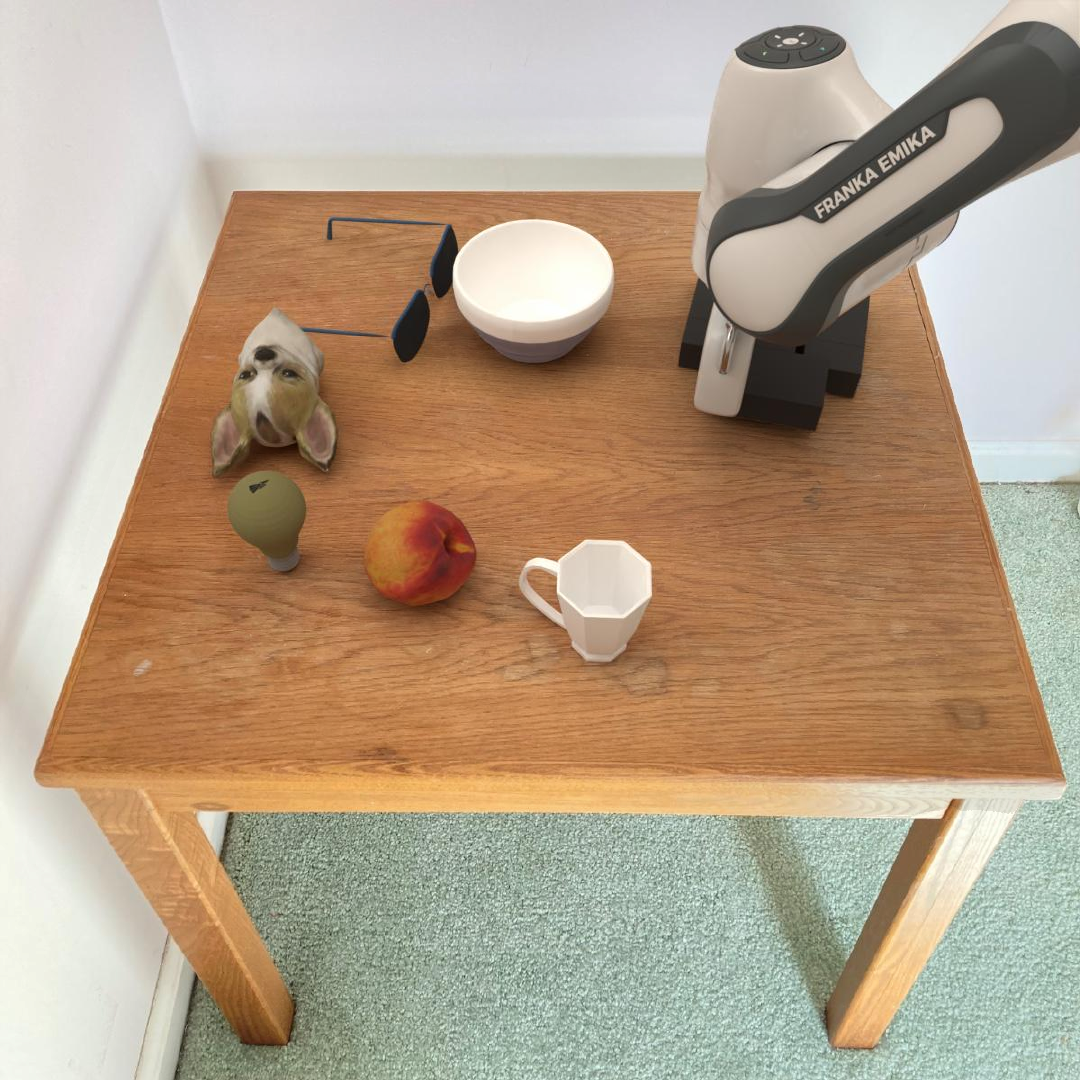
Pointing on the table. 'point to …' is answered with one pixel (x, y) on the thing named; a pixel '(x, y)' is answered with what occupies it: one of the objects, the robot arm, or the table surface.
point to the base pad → (834, 343)
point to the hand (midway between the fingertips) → (724, 375)
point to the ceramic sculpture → (275, 398)
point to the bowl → (533, 287)
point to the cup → (596, 595)
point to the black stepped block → (784, 387)
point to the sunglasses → (417, 312)
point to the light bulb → (269, 516)
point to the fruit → (419, 553)
